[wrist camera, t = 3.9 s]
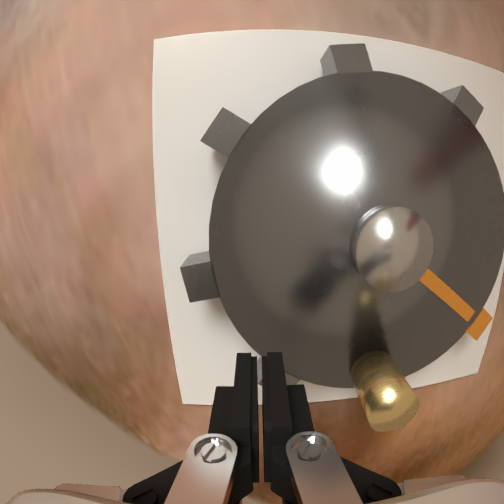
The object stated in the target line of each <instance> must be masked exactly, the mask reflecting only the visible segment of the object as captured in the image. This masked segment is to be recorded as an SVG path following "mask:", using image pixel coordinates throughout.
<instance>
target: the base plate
mask: <svg viewBox="0 0 504 504" xmlns="http://www.w3.org/2000/svg"><path fill="white" fill-rule="evenodd" d="M358 43H365V46H366V49H367V52H368V55H369V59H370V62H371V66H372V69H373V71H384V72H389V73H393V74H398V75H402V76H405V77H408V78H411V79H413V80H416V81H418V82H421V83H423V84H425V85H427V86H429V87H430V88H432V89H434V90H436V91H437V92H439V93H441V92H443V91H446V90H449V89H452V88H455V87H458V86H461V85H463V86H464V87H465V88H466V89H467V90H468V91H469V92H470V93H471V94H472V95H473V96H474V97H475V98H476V99H477V101H478V102H479V103H480V104H481V105H482V106H483V107H484V109H483V111H482V113H481V115H480V117H479V119H478V122H477V124H476V126H475V127H476V129H477V130H478V131H479V133H480V134H481V136H482V137H483V139H484V141H485V143H486V144H487V146H488V148H489V150H490V152H491V154H492V156H493V159H494V161H495V163H496V166H497V168H498V172H499V175H500V179H501V182H502V186H503V192H504V73H503V72H501V71H498V70H496V69H493V68H490V67H488V66H485V65H482V64H479V63H476V62H473V61H470V60H467V59H464V58H461V57H458V56H454V55H451V54H447V53H444V52H440V51H436V50H432V49H428V48H424V47H420V46H416V45H411V44H407V43H402V42H397V41H391V40H386V39H380V38H374V37H367V36H360V35H352V34H344V33H334V32H322V31H307V30H234V31H219V32H207V33H197V34H188V35H181V36H173V37H167V38H160V39H155V40H154V53H153V95H152V116H153V159H154V181H155V198H156V212H157V225H158V237H159V248H160V257H161V267H162V276H163V284H164V292H165V300H166V307H167V315H168V322H169V328H170V335H171V341H172V347H173V353H174V359H175V365H176V371H177V376H178V381H179V387H180V392H181V397H182V402H183V404H198V405H213V401H214V395H215V389H216V386H234V378H235V367H236V356H237V353H251V356H257V361H258V360H259V358H260V357H261V356H260V355H259V354H258V353H257V352H256V351H254V350H253V349H252V348H251V347H250V346H249V344H248V343H247V342H246V341H245V340H244V339H243V337H242V336H241V335H240V334H239V333H238V331H237V330H236V328H235V327H234V325H233V323H232V322H231V320H230V319H229V317H228V315H227V314H226V311H225V309H224V307H223V305H222V302H221V300H220V298H214V299H208V300H203V301H197V302H191V303H190V302H189V298H188V295H187V291H186V288H185V284H184V281H183V277H182V274H181V270H180V267H181V265H182V264H183V263H184V261H185V260H186V259H187V257H188V256H189V255H191V254H195V253H200V252H205V251H209V222H210V215H211V208H212V201H213V198H214V194H215V191H216V188H217V184H218V181H219V177H220V175H221V173H222V171H223V168H224V166H225V164H226V162H227V160H228V158H227V157H225V156H224V155H222V154H221V153H219V152H217V151H216V150H214V149H213V148H211V147H209V146H208V145H206V144H204V143H203V142H201V141H200V140H201V138H202V137H203V135H204V134H205V132H206V131H207V129H208V128H209V126H210V125H211V123H212V122H213V120H214V119H215V117H216V116H217V114H218V113H219V112H220V110H221V109H222V107H224V108H225V109H227V110H229V111H230V112H232V113H234V114H235V115H237V116H239V117H240V118H242V119H244V120H245V121H247V122H248V123H250V124H252V123H253V122H254V120H255V119H256V118H257V117H258V116H259V115H260V114H261V113H262V112H263V111H264V110H266V109H267V108H268V107H269V106H270V105H271V104H273V103H274V102H275V101H276V100H277V99H279V98H280V97H282V96H283V95H285V94H287V93H288V92H290V91H291V90H293V89H295V88H296V87H298V86H300V85H303V84H305V83H307V82H310V81H312V80H314V79H317V78H319V77H323V76H324V73H323V70H322V66H321V62H320V59H321V58H322V56H323V55H324V53H325V51H326V50H327V48H328V47H329V45H337V44H358ZM503 271H504V253H503V258H502V262H501V266H500V270H499V273H498V276H497V279H496V282H495V284H494V287H493V289H492V292H491V294H490V296H489V298H488V300H487V302H486V303H485V305H484V307H483V308H484V309H485V310H486V311H487V312H488V313H489V314H490V315H491V316H492V317H493V319H494V315H495V311H496V306H497V302H498V297H499V292H500V287H501V282H502V277H503ZM493 319H492V320H491V322H490V323H489V325H488V326H487V327H486V329H485V330H484V332H483V333H482V334H481V336H480V337H479V339H478V340H477V341H476V340H475V339H474V338H473V337H471V336H470V335H469V334H468V333H467V332H466V333H465V334H464V335H463V336H462V337H461V338H460V339H459V340H458V341H457V342H456V343H455V344H454V345H453V346H452V347H451V348H450V349H449V350H448V351H447V352H445V353H444V354H443V355H442V356H440V357H439V358H438V359H436V360H435V361H434V362H432V363H430V364H429V365H427V366H425V367H424V368H422V369H420V370H419V371H417V372H415V373H412V374H410V375H408V376H406V377H405V379H406V380H407V382H408V383H409V385H410V386H411V388H417V387H422V386H426V385H431V384H435V383H440V382H444V381H448V380H452V379H456V378H460V377H464V376H468V375H471V374H475V373H477V372H478V369H479V366H480V363H481V360H482V357H483V354H484V351H485V348H486V344H487V341H488V337H489V334H490V330H491V327H492V323H493ZM297 384H304V386H305V391H306V395H307V400H308V402H320V401H330V400H340V399H348V398H356V397H358V395H357V393H356V390H355V388H333V387H327V386H322V385H316V384H313V383H310V382H306V381H303V380H300V381H299V382H298V383H297ZM297 384H296V385H297ZM258 405H262V386H261V385H259V384H258Z"/></svg>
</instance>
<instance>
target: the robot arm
mask: <svg viewBox="0 0 504 504" xmlns="http://www.w3.org/2000/svg"><path fill="white" fill-rule="evenodd" d="M262 413H263V449H264V482H271V490H272V492H274V493H276V494H277V495H279V496H280V497H282V504H504V481H502V480H499V479H490V478H488V479H487V478H483V479H467V478H466V477H464V476H462V475H449V476H441V477H433V478H423V479H411V480H403V482H402V483H396V482H394V481H392V480H391V479H389V478H386V477H384V476H382V475H379V474H377V473H375V472H372V471H370V470H368V469H366V468H363V467H361V466H359V465H357V464H355V463H353V462H351V461H348V460H346V459H344V458H342V457H340V456H339V454H338V452H337V450H336V448H335V446H334V443H333V442H332V441H331V439H330V438H329V437H327V436H326V435H325V434H322V433H319V432H314V429H313V424H312V419H311V414H310V409H309V405H308V400H307V395H306V391H305V386H304V384H297V385H287V384H286V377H285V370H284V363H283V356H282V352H267V356H262ZM257 482H259V424H258V374H257V356H251V353H237V356H236V367H235V378H234V386H216V389H215V395H214V401H213V407H212V413H211V419H210V425H209V431H208V434H206V435H202V436H200V437H198V438H196V439H195V440H194V441H193V442H192V443H191V445H190V446H189V449H188V451H187V453H186V455H185V458H184V460H182V461H180V462H178V463H177V464H175V465H173V466H171V467H169V468H167V469H165V470H163V471H161V472H159V473H157V474H155V475H153V476H151V477H149V478H147V479H145V480H143V481H141V482H139V483H137V484H134V485H133V486H131V487H130V488H128V489H121V488H120V486H95V485H81V484H61V485H59V486H57V487H56V488H55V489H29V490H24V491H21V492H18V493H17V494H15V495H14V496H13V497H11V498H10V499H9V500H8V501H7V502H6V504H242V498H244V497H245V496H247V495H248V494H249V493H251V492H252V491H253V483H257Z"/></svg>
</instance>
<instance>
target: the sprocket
mask: <svg viewBox="0 0 504 504" xmlns="http://www.w3.org/2000/svg"><path fill="white" fill-rule="evenodd" d="M320 62H321V66H322V70H323V73H324V76H323V77H319V78H317V79H314V80H312V81H310V82H307V83H305V84H303V85H300V86H298V87H296V88H295V89H293V90H291V91H290V92H288V93H287V94H285V95H283V96H282V97H280V98H279V99H277V100H276V101H275V102H274V103H273V104H271V105H270V106H269V107H268V108H267V109H266V110H264V111H263V112H262V113H261V114H260V115H259V116H258V117H257V118H256V119H255V120H254V122H253V123H252V124H250V123H248V122H247V121H245V120H244V119H242V118H240V117H239V116H237V115H235V114H234V113H232V112H230V111H229V110H227V109H225V108H224V107H222V109H221V110H220V112H219V113H218V114H217V116H216V117H215V119H214V120H213V122H212V123H211V125H210V126H209V128H208V129H207V131H206V132H205V134H204V135H203V137H202V138H201V140H200V141H201V142H203V143H204V144H206V145H208V146H209V147H211V148H213V149H214V150H216V151H217V152H219V153H221V154H222V155H224V156H225V157H227V158H228V160H227V162H226V164H225V166H224V168H223V171H222V173H221V175H220V177H219V181H218V184H217V188H216V191H215V194H214V198H213V201H212V208H211V215H210V222H209V251H205V252H200V253H195V254H191V255H189V256H188V257H187V259H186V260H185V261H184V263H183V264H182V265H181V267H180V270H181V274H182V277H183V281H184V284H185V288H186V291H187V295H188V298H189V302H190V303H191V302H197V301H203V300H208V299H214V298H220V300H221V302H222V305H223V307H224V309H225V311H226V314H227V315H228V317H229V319H230V320H231V322H232V323H233V325H234V327H235V328H236V330H237V331H238V333H239V334H240V335H241V336H242V337H243V339H244V340H245V341H246V342H247V343H248V344H249V346H250V347H251V348H252V349H253V350H254V351H256V352H257V353H258V354H259V355H260V356H261V357H260V358H259V360H258V361H257V374H258V384H259V385H261V386H262V356H267V352H282V356H283V363H284V370H285V377H286V384H287V385H296V384H297V383H298V382H299V381H300V380H303V381H306V382H310V383H313V384H316V385H322V386H327V387H333V388H355V390H356V393H357V395H358V397H359V400H360V402H361V405H362V407H363V409H364V412H365V414H366V417H367V419H368V422H369V424H370V426H371V428H372V429H373V430H375V431H378V432H389V431H393V430H396V429H398V428H400V427H402V426H404V425H405V424H407V423H408V422H409V421H410V420H411V419H412V418H413V417H414V415H415V414H416V412H417V410H418V408H419V399H418V397H417V396H416V394H415V393H414V391H413V389H412V388H411V386H410V385H409V383H408V382H407V380H406V379H405V377H406V376H408V375H410V374H412V373H415V372H417V371H419V370H420V369H422V368H424V367H425V366H427V365H429V364H430V363H432V362H434V361H435V360H436V359H438V358H439V357H440V356H442V355H443V354H444V353H445V352H447V351H448V350H449V349H450V348H451V347H452V346H453V345H454V344H455V343H456V342H457V341H458V340H459V339H460V338H461V337H462V336H463V335H464V334H465V333H466V332H467V333H468V334H469V335H470V336H471V337H473V338H474V339H475V340H476V341H477V340H478V339H479V337H480V336H481V334H482V333H483V332H484V330H485V329H486V327H487V326H488V325H489V323H490V322H491V320H492V319H493V317H492V316H491V315H490V314H489V313H488V312H487V311H486V310H485V309H484V308H483V307H484V305H485V303H486V302H487V300H488V298H489V296H490V294H491V292H492V289H493V287H494V284H495V282H496V279H497V276H498V273H499V270H500V266H501V262H502V258H503V253H504V192H503V186H502V182H501V179H500V175H499V172H498V168H497V166H496V163H495V161H494V159H493V156H492V154H491V152H490V150H489V148H488V146H487V144H486V143H485V141H484V139H483V137H482V136H481V134H480V133H479V131H478V130H477V129H476V127H475V126H476V124H477V122H478V119H479V117H480V115H481V113H482V111H483V109H484V107H483V106H482V105H481V104H480V103H479V102H478V101H477V99H476V98H475V97H474V96H473V95H472V94H471V93H470V92H469V91H468V90H467V89H466V88H465V87H464V86H463V85H461V86H458V87H455V88H452V89H449V90H446V91H443V92H441V93H439V92H437V91H436V90H434V89H432V88H430V87H429V86H427V85H425V84H423V83H421V82H418V81H416V80H413V79H411V78H408V77H405V76H402V75H398V74H393V73H389V72H384V71H373V69H372V66H371V62H370V59H369V55H368V52H367V49H366V46H365V43H358V44H337V45H329V47H328V48H327V50H326V51H325V53H324V55H323V56H322V58H321V59H320Z"/></svg>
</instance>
